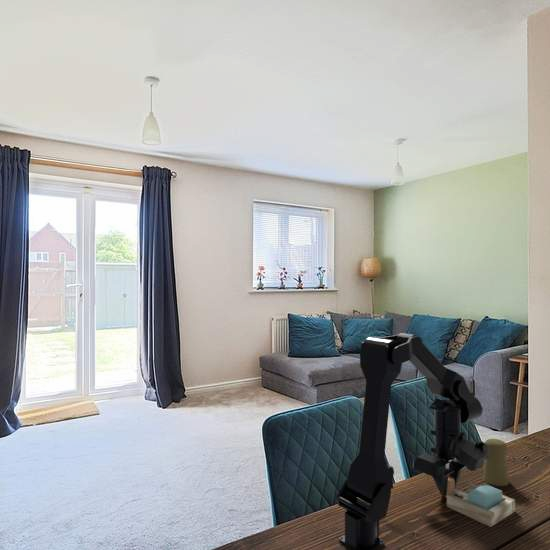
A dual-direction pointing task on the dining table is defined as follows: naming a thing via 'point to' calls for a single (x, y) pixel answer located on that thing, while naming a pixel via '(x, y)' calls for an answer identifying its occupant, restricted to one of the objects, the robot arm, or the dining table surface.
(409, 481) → the dining table surface
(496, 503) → the lever with tan knob
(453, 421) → the robot arm
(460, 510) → the lane
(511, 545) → the dining table surface
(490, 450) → the cork
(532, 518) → the dining table surface
